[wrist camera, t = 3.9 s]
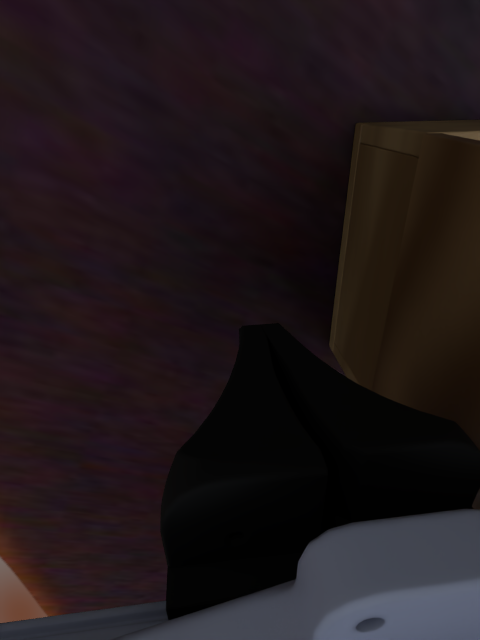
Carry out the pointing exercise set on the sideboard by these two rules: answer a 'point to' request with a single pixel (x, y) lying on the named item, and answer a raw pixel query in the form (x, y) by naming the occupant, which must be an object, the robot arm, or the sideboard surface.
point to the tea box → (376, 235)
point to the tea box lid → (438, 291)
